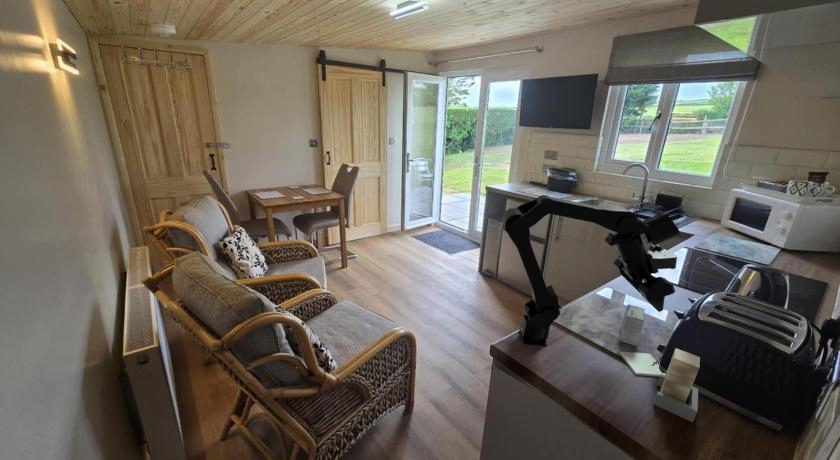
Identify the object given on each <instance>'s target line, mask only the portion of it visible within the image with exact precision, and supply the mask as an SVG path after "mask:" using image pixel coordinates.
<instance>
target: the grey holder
mask: <svg viewBox="0 0 840 460" xmlns="http://www.w3.org/2000/svg"><path fill="white" fill-rule="evenodd" d="M665 376H666V375H664V374H660V377H659V378H658V381H657V384H656V386H658V387H659V388H661V387H662V384H663V381H664V378H665ZM687 400H688V403H683V402H681V401H679V400H676V399H674V398H672V397H670V396H667V395H665V394H663V393H661V392H660V391H658V390H657V392H656V394H655V397H654V400H653V405H654V406H657V407H659V408H660V409H663V410H664V411H668V412H670V413H672V414H673V415H676V416H678V417H680V418H683V419H684V420H686V421H689V422H690V423H694V420H695V419H696V416H697V414H698V404H699V388H697V387H694V386H693V385H692V388H691V390H690V393H689V395H688V398H687Z"/></svg>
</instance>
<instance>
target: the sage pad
mask: <svg viewBox="0 0 840 460" xmlns="http://www.w3.org/2000/svg"><path fill="white" fill-rule="evenodd" d="M619 355H620V356H621V357H622V359H623V360H624V361H625V363H626V365H627V366H628V367H629V369H631V371H632V373H634V375H635V376H644V377H645V376H647V377H660V374H664V375H666V374H665V373H662V372H661V371H660V369H659V365H660V364H659V363H658V362H657V364H655V365H654V366H653V365H652V364H653V362H656V361H657V360H656V359H655V358H654V357H653V355H652V354H651V353H646V352H645V353H643V352H630V351H629V352H628V351H619ZM658 364H659V365H658ZM651 365H652V366H651Z"/></svg>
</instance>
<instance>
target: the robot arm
mask: <svg viewBox="0 0 840 460" xmlns="http://www.w3.org/2000/svg"><path fill="white" fill-rule="evenodd" d="M547 215H553V216H559V217H563V218H569V219H574V220H579V221H582V222H583V221H584V222H589V223H592V224H596V225H598V226H600V227H602V228H604V229H607V230H609V231H612V232H614V233H612V232H609V233H608V235H607V236H606V237H605V238H604V242H606V243H607V245H609V247H613V246H616V248H617V251H618V254H619V255H618V258H616V259H615V260H614V262H613V265H614V268H615V270H616V271H617V272H618V273H619V274H620V275H621V277H623V278H624V279H625V280H626V281H627V282H628V283H629V284H630V285H631V286H632V287H633V288H634V289H635V290H636V291H637V292H638V293H639V294H641V296H642V298H643V299H644V300H646V302H648V303H649V304H650V305H651V306H652V307H653V308H654V309H655V310H656V311H657V312H659V313H660V312H663V311H664V305H665V298H666V297H667V296H670V295H673V294H675V292H676V289H675V287H674V284H673V283H671V282H670V281H669V280H667V279H666V278H665V277H662V276H657V277H655V276H653V275H655V274H658V273H659V272H660V271H659V270H667V269H668V270H669V269H670V270H675V269H676V268H677V260H678V255H676V254H674V253H673V252H671V251H670V250H667V249H665V248H663V249H662V247H661V246H660V244H662V243H664V242H667V241H670V240H672V239H675V238H677V237H679V236H680V230H679V228H678V226H677V225H676V224H675V222H674V221H673V219H671V217H670V215H669V213H667V212H665V211H662V212H661V211H660V212H659V213H656V214H655V215H654V216H651V217H648V218H646V219H643V220H642V219H640V218H638V217H637V215H636V214H635V213H634V212H632V211H631V210H630V209H627V208H625V207H624V206H622V205H618V204H601V205H593V204H588V203H587V204H586V203H582V202H577V201H572V200H567V199H562V198H559V197H558V198H557V197H553V196H552V197H551V196H549V195H547V194H542V195H540V196H538V197H536V198H534V199H531V200H529V201H528V202H525V203H522V204H520V205H518V206H517V207H511V208H508V209H506V210H505V212H504V213H503V214H502V216H501V220H502V224H503V227H504V230H505V231H506V233H507V235H508V237H509V238H510V241H512V243H513V244H514V245H515V247H516V248H517V251H518V254H519V257H520V260H521V262H522V265H523V267H524V270H525V272H526V276H527V278H528V282H529V283H530V284H529V285H530V286H531V295H532V296H531V297H532V299H530V300H528V301H527V302H526V303H524V304H523V306H524V311H525V313H526V314H524V315H523V317H522V324H521V328H519V330H520V331H519V330H518V331H519V334H520V337H521V339H522V341H523V344H525V345H537V346H538V345H539V346H547V345H548V342H547V340H548V338H549V333H550V329H551V326H552V323H554V321H555V320H557V319H558V318H559V317H560V315H561V309H562V307H563V306H562V305H561V304H560V301H559V298H558V294H557V293H556V291H555V289H554V286H553V285H552V284H551V285H548V286H547V283H545V282H546V281H545V279H544V277H543V274H542V271H541V268H540V265H539V262H538V260H537V257H536V255H535V252H534V249H533V246H532V244H531V232H530V228H532V227H533V226H535V225H536V224H538V223H539V222H540V221H542V219H543V218H544V217H546V216H547ZM644 243H645V244H650V246H649V247H648V249H647V250H646V248H645V245H644ZM652 274H653V275H652ZM521 329H522V330H521Z"/></svg>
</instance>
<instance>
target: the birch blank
mask: <svg viewBox="0 0 840 460" xmlns="http://www.w3.org/2000/svg"><path fill="white" fill-rule="evenodd" d="M700 362H701V357H700V356H697V355H695V354H692V353H690V352H688V351H684V350H681V349H679V348H676V347H675V348H674V351H673V354H672V356H671V360H670V363H669V365H668V368H667V370H666V376H665V378H664V381H663V384H662V387H660V390H659V392H661V393H663V394H665V395H667V396H670V397H672V398H674V399H676V400H679V401H681V402H683V403H685V404H687V403H686V402H687V400H688V399H687V398H688V395H689V393H690V390H691V388H692V386H693V385H694V382H695V380H696V378H697V375H698V373H699V370H700Z"/></svg>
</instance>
